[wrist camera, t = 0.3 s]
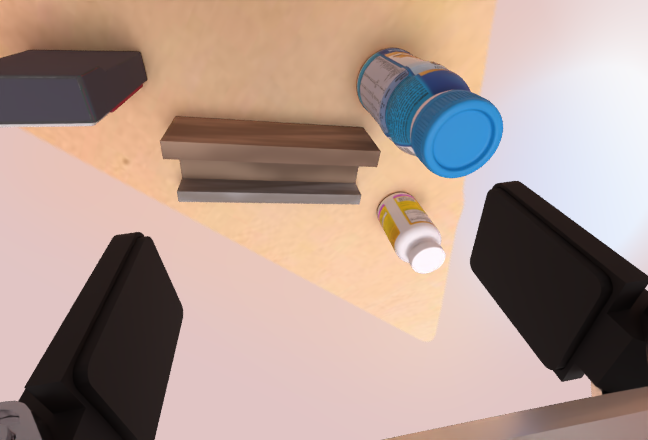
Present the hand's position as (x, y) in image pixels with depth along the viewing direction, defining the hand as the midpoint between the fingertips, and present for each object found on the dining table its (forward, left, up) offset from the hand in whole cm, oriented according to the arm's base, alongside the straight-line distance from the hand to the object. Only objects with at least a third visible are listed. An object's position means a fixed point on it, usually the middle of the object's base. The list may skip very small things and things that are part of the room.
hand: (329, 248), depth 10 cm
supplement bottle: (+21, +20, -36) cm, 47 cm away
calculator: (+3, -20, -36) cm, 41 cm away
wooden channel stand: (+13, 0, -36) cm, 38 cm away
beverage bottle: (+2, +14, -36) cm, 39 cm away
